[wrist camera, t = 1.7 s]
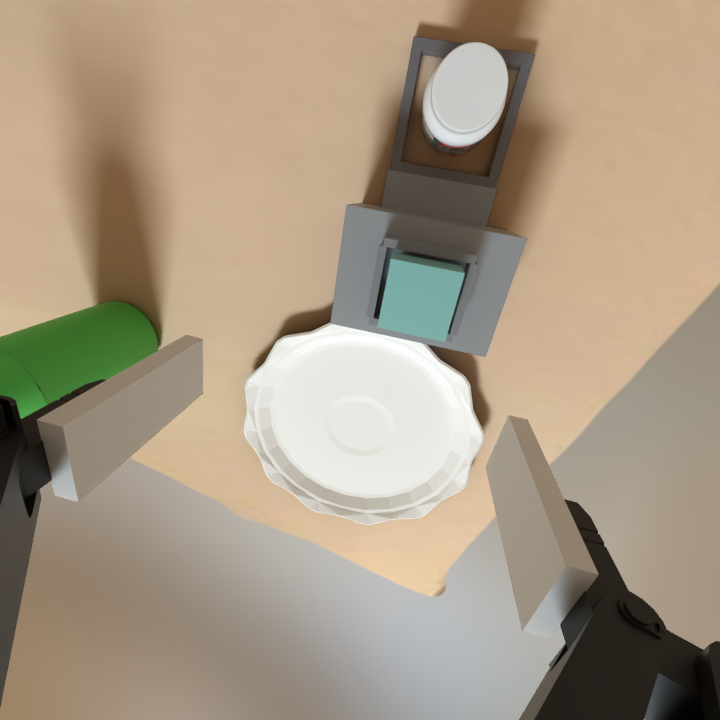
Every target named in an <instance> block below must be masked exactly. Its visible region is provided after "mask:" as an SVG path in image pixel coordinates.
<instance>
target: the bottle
mask: <svg viewBox="0 0 720 720" xmlns="http://www.w3.org/2000/svg"><path fill="white" fill-rule="evenodd" d="M157 347H158V341H157V337H156V333H155V330H154V328H153V327H152V325H151V323H150V322H149V320H148V319H147V318H146V317H145V316H144V315H143V314H142V313H141V312H140V311H139V310H138V309H136V308H134V307H133V306H131V305H129V304H128V303H124V302H119V301H111V302H105V303H102V304H99V305H96V306H93V307H90V308H87V309H84V310H81V311H78V312H75V313H72V314H68V315H65V316H62V317H59V318H56V319H53V320H50V321H47V322H44V323H41V324H38V325H35V326H32V327H29V328H26V329H23V330H20V331H17V332H14V333H11V334H8V335H5V336H2V337H0V395H2V396H7V397H11V398H13V399H14V400H16V402H17V406H18V410H19V414H20V418H21V419H22V418H24V417H26V416H28V415H30V414H31V413H33V412H35V411H37V410H39V409H41V408H42V407H44V406H46V405H48V404H50V403H52V402H53V401H55V400H59V399H60V398H61V397H63V396H65V395H66V394H68V393H69V394H71V392H72V391H74V390H76V389H77V388H79V387H81V386H83V385H85V384H88V383H91V382H94V381H98V380H101V379H105V380H107V379H109V378H111V377H113V376H114V375H116V374H118V373H120V372H122V371H123V370H125V369H127V368H129V367H130V366H132V365H134V364H136V363H137V362H139V361H141V360H143V359H144V358H146V357H148V356H150V355H152V354H153V353H155V352H157Z"/></svg>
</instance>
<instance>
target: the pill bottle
mask: <svg viewBox="0 0 720 720" xmlns="http://www.w3.org/2000/svg"><path fill="white" fill-rule="evenodd" d="M507 89H508V71H507V67H506V64H505V61H504V59H503V57H502V56H501V54H500V53H499V52H498V51H497V50H496V49H495V48H493V47H492V46H490V45H488V44H485V43H481V42H470V43H466V44H463V45H461V46H459V47H457V48H455V49H454V50H452V51H451V52H450V53H449V54H448V55H447V56H446V57H445V58H444V60H443V61H441V62H440V63H439V64H438V66H437V67H436V68H435V70H434V71H433V72H432V74H431V76H430V78H429V80H428V82H427V85H426V88H425V92H424V97H423V116H422V124H423V131H424V134H425V137H426V139H427V141H428V143H429V144H430V145H431V146H432V147H433V148H434V149H435V150H436V151H438V152H439V153H442V154H445V155H452V156H453V155H460V154H463V153H465V152H468V151H469V150H471V149H472V148H474V147H475V146H476V145H477V144H478V143H479V142H480V141H481V140H482V139H483V138H484V137H486V136H487V135H488V134H489V133H490V131H491V130H492V129H493V128H494V127H495V125H496V124H497V122H498V120H499V118H500V116H501V114H502V112H503V109H504V106H505V102H506V96H507Z"/></svg>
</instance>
